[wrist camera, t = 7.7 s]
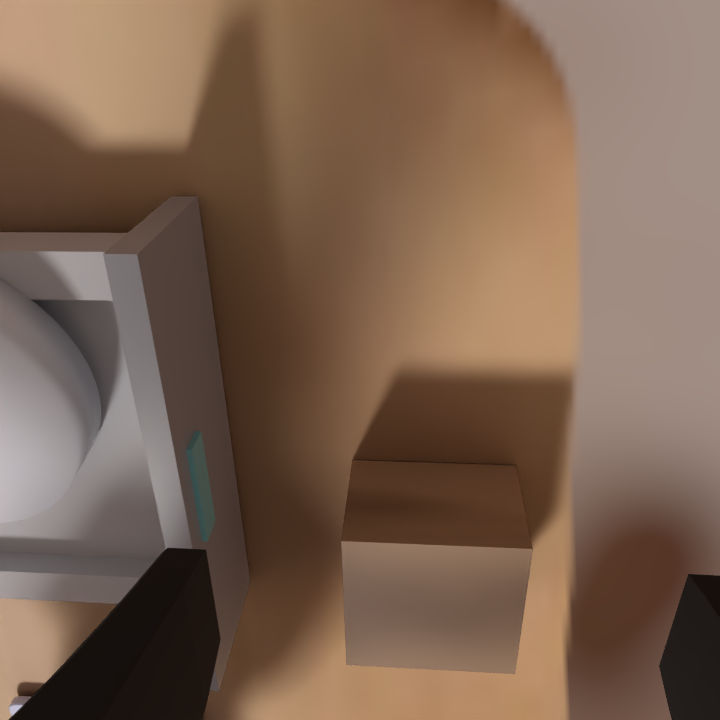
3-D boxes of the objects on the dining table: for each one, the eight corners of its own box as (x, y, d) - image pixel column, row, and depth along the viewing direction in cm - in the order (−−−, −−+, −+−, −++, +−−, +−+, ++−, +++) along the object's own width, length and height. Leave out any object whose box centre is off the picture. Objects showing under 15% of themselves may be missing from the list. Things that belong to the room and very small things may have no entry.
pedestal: (502, 582, 23) (515, 674, 20) (356, 576, 23) (346, 664, 20) (515, 465, 21) (532, 549, 18) (352, 460, 21) (341, 541, 18)
